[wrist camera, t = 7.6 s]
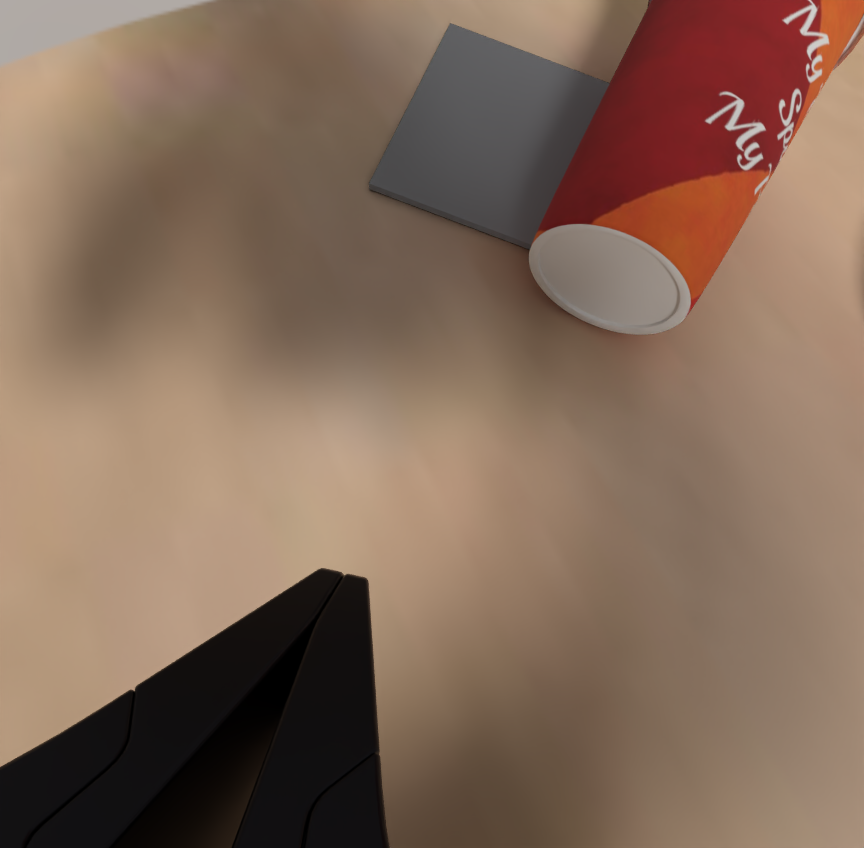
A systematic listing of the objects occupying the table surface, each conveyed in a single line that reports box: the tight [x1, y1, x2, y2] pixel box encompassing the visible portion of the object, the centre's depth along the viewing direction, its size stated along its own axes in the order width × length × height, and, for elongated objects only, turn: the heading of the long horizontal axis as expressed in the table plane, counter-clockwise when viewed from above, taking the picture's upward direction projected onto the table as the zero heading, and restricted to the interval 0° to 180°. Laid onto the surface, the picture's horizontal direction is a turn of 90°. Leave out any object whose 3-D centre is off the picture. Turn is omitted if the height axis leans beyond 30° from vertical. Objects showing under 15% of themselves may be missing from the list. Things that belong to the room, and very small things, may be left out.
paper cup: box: [529, 0, 864, 335], centre depth 18 cm, size 8×8×14 cm
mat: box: [369, 23, 610, 250], centre depth 21 cm, size 13×10×1 cm
